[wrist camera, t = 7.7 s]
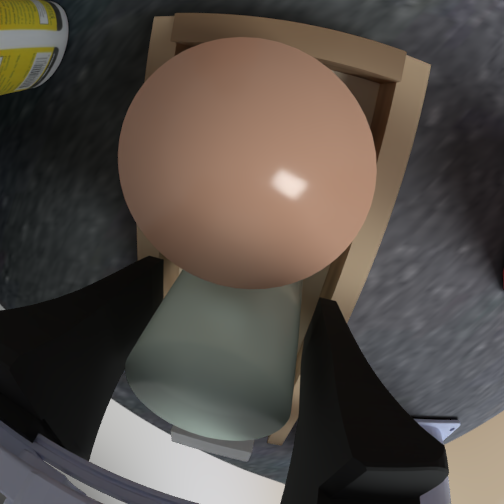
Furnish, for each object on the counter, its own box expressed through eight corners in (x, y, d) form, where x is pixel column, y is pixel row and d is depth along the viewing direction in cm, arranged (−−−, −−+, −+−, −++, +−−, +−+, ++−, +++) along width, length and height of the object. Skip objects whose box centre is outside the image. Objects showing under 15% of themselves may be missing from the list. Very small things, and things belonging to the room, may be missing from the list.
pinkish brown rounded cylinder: (325, 202, 13) (332, 311, 7) (207, 176, 13) (119, 258, 7) (353, 83, 10) (405, 73, 4) (224, 59, 11) (129, 33, 5)
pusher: (266, 415, 20) (256, 463, 17) (181, 393, 21) (163, 438, 17) (289, 359, 17) (280, 418, 14) (182, 332, 17) (155, 384, 14)
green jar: (291, 301, 15) (270, 451, 8) (202, 280, 16) (135, 414, 9) (315, 218, 13) (314, 369, 6) (211, 195, 13) (114, 316, 7)
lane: (293, 408, 21) (287, 452, 18) (162, 375, 22) (143, 414, 19) (414, 73, 10) (450, 70, 7) (178, 30, 11) (134, 15, 8)
